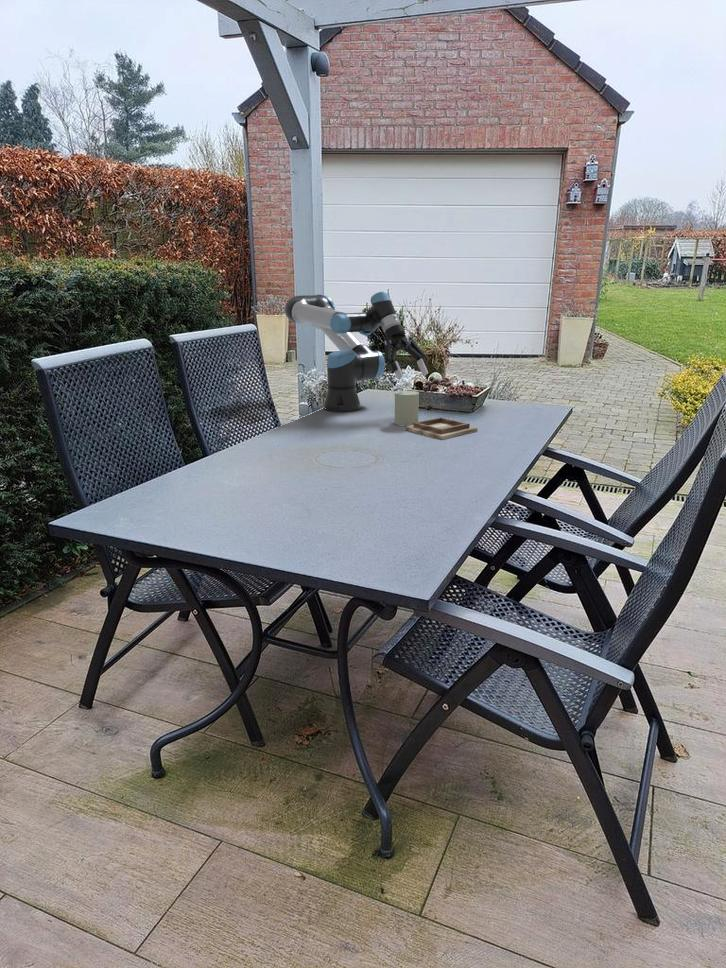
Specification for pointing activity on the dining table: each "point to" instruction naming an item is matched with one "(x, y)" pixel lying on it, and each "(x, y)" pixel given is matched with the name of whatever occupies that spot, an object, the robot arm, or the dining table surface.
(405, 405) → the can
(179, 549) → the dining table surface
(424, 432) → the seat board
